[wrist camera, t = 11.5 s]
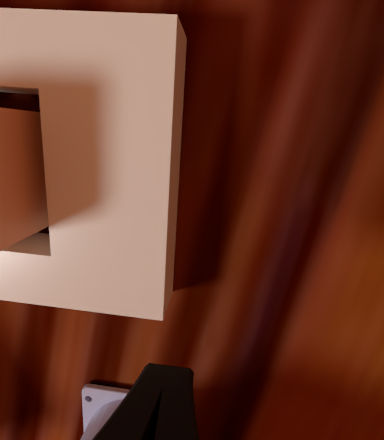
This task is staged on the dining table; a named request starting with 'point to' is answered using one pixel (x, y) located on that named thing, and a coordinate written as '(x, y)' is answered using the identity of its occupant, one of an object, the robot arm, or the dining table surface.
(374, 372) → the dining table surface
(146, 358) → the dining table surface
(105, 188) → the socket plate
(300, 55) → the dining table surface
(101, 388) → the robot arm
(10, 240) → the plug
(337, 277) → the dining table surface
